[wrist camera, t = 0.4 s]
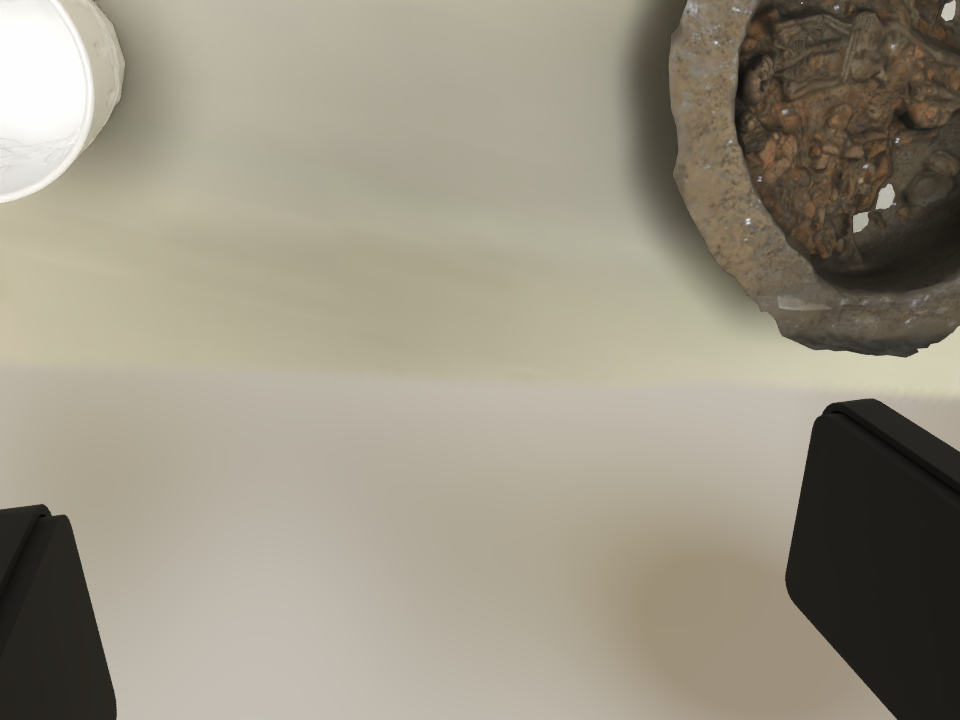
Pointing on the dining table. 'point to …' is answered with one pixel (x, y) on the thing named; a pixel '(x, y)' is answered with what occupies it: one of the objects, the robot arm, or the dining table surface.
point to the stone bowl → (826, 162)
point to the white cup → (52, 88)
